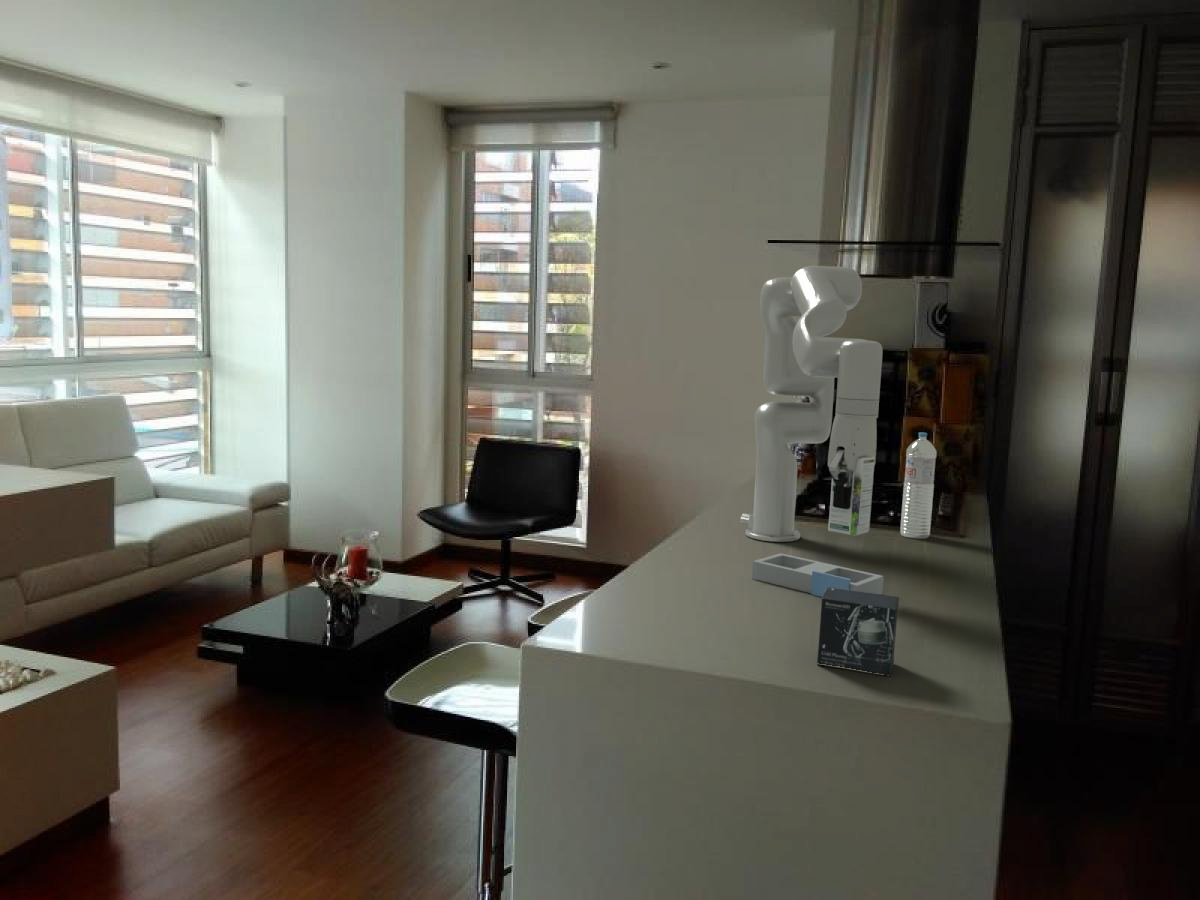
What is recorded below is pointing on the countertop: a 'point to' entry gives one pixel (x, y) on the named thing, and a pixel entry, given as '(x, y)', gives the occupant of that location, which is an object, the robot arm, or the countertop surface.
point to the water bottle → (918, 489)
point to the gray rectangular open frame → (813, 575)
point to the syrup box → (855, 501)
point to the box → (858, 630)
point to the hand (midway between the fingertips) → (850, 504)
